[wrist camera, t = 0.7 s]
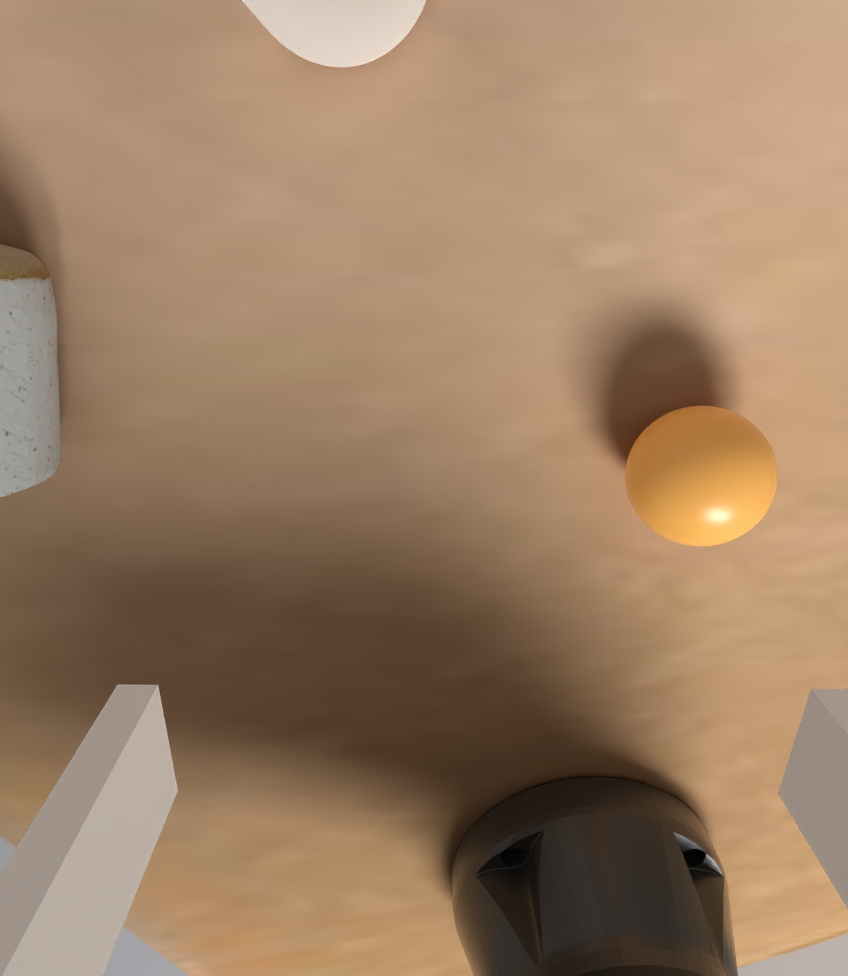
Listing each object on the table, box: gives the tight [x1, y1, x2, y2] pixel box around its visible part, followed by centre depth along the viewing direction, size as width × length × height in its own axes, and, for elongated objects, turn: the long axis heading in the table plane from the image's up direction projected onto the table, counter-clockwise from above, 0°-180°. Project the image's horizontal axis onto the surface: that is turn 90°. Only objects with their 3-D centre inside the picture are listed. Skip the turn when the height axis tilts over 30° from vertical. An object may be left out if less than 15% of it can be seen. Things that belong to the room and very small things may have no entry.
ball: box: [625, 406, 778, 546], centre depth 26 cm, size 6×6×6 cm
